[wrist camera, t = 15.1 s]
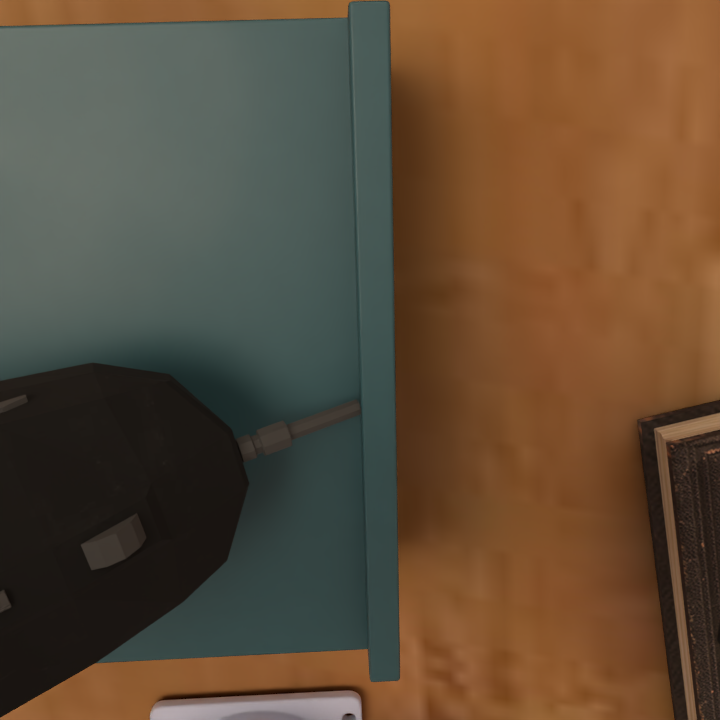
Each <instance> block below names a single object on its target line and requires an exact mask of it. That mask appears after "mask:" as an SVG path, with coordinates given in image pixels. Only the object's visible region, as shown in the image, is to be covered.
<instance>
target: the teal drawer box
mask: <svg viewBox="0 0 720 720" xmlns="http://www.w3.org/2000/svg"><path fill="white" fill-rule="evenodd" d="M92 362H94V363H100V364H107V365H113V366H120V367H126V368H133V369H140V370H146V371H153V372H159V373H166V374H170V375H171V376H172V377H174V378H175V379H176V380H177V381H178V382H179V383H180V384H182V385H183V386H184V387H185V388H186V389H187V390H188V391H189V392H191V393H192V394H193V395H194V396H195V397H196V398H197V399H199V400H200V401H201V402H202V403H203V404H204V405H205V406H206V407H208V408H209V409H210V410H211V411H212V412H213V413H214V414H216V415H217V416H218V417H219V418H220V419H221V420H222V421H224V422H225V423H226V424H227V425H228V426H229V427H230V428H231V429H232V432H233V435H234V438H235V439H237V438H239V437H242V436H245V435H248V434H249V435H250V436H253V435H256V430H258V429H261V428H263V427H266V426H269V425H272V424H274V423H277V422H280V421H284V422H285V424H286V425H287V424H290V423H293V422H295V421H298V420H301V419H304V418H306V417H309V416H312V415H314V414H317V413H320V412H323V411H325V410H328V409H331V408H334V407H336V406H339V405H342V404H344V403H347V402H350V401H353V400H355V399H356V400H357V401H358V402H359V405H360V407H361V414H360V415H358V416H355V417H352V418H350V419H347V420H344V421H342V422H339V423H336V424H334V425H331V426H328V427H326V428H323V429H320V430H318V431H315V432H312V433H310V434H307V435H304V436H302V437H299V438H296V439H294V440H292V446H290V447H287V448H284V449H282V450H279V451H277V452H274V453H271V454H269V455H266V456H265V455H264V454H263V452H262V453H260V454H257V458H255V459H252V460H249V461H247V462H244V463H243V465H244V468H245V471H246V474H247V477H248V481H249V486H248V490H247V493H246V497H245V500H244V504H243V507H242V511H241V514H240V518H239V521H238V525H237V528H236V532H235V535H234V539H233V542H232V546H231V549H230V553H229V556H228V560H227V561H226V562H225V563H224V564H223V565H222V566H221V567H220V568H219V569H218V570H217V571H216V572H215V573H213V574H212V575H211V576H210V577H209V578H208V579H207V580H206V581H205V582H204V583H203V584H202V585H201V586H200V587H199V588H198V589H196V590H195V591H194V592H193V593H192V594H191V595H190V596H189V597H188V598H187V599H186V600H185V601H184V602H183V603H181V604H180V605H178V606H177V607H176V608H174V609H173V610H171V611H170V612H168V613H167V614H165V615H164V616H163V617H161V618H160V619H158V620H157V621H155V622H154V623H153V624H151V625H150V626H148V627H147V628H145V629H144V630H142V631H141V632H140V633H138V634H137V635H135V636H134V637H132V638H131V639H130V640H128V641H127V642H125V643H124V644H122V645H121V646H120V647H118V648H117V649H115V650H114V651H112V652H111V653H109V654H108V655H107V656H105V657H104V658H102V659H101V660H99V661H98V662H96V663H107V662H126V661H145V660H165V659H184V658H204V657H223V656H242V655H262V654H281V653H300V652H320V651H339V650H358V649H368V659H369V674H370V680H371V682H382V681H398V680H399V679H400V640H399V574H398V508H397V442H396V375H395V309H394V243H393V177H392V110H391V44H390V4H389V2H388V1H352V2H350V3H349V6H348V18H311V19H270V20H230V21H190V22H149V23H109V24H68V25H28V26H0V381H1V380H6V379H11V378H17V377H22V376H27V375H32V374H37V373H42V372H47V371H52V370H57V369H62V368H67V367H72V366H77V365H82V364H87V363H92Z"/></svg>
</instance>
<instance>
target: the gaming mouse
mask: <svg viewBox="0 0 720 720" xmlns="http://www.w3.org/2000/svg"><path fill="white" fill-rule="evenodd" d="M360 414H361V407H360V405H359V402H358V401H357V400H356V399H355V400H353V401H350V402H347V403H344V404H342V405H339V406H336V407H334V408H331V409H328V410H325V411H323V412H320V413H317V414H314V415H312V416H309V417H306V418H304V419H301V420H298V421H295V422H293V423H290V424H287V425H286V424H285V422H284V421H280V422H277V423H274V424H272V425H269V426H266V427H263V428H261V429H258V430H256V435H253V436H250V435H249V434H248V435H245V436H242V437H239V438H237V439H235V438H234V435H233V432H232V429H231V428H230V427H229V426H228V425H227V424H226V423H225V422H224V421H222V420H221V419H220V418H219V417H218V416H217V415H216V414H214V413H213V412H212V411H211V410H210V409H209V408H208V407H206V406H205V405H204V404H203V403H202V402H201V401H200V400H199V399H197V398H196V397H195V396H194V395H193V394H192V393H191V392H189V391H188V390H187V389H186V388H185V387H184V386H183V385H182V384H180V383H179V382H178V381H177V380H176V379H175V378H174V377H172V376H171V375H170V374H166V373H159V372H153V371H146V370H140V369H133V368H126V367H120V366H113V365H107V364H100V363H94V362H92V363H87V364H82V365H77V366H72V367H67V368H62V369H57V370H52V371H47V372H42V373H37V374H32V375H27V376H22V377H17V378H11V379H6V380H1V381H0V717H2V716H4V715H5V714H7V713H9V712H11V711H12V710H14V709H16V708H18V707H19V706H21V705H23V704H25V703H26V702H28V701H30V700H32V699H33V698H35V697H37V696H39V695H40V694H42V693H44V692H46V691H47V690H49V689H51V688H53V687H54V686H56V685H58V684H59V683H61V682H63V681H65V680H66V679H68V678H70V677H72V676H73V675H75V674H77V673H79V672H80V671H82V670H84V669H86V668H87V667H89V666H91V665H93V664H94V663H96V662H98V661H99V660H101V659H102V658H104V657H105V656H107V655H108V654H109V653H111V652H112V651H114V650H115V649H117V648H118V647H120V646H121V645H122V644H124V643H125V642H127V641H128V640H130V639H131V638H132V637H134V636H135V635H137V634H138V633H140V632H141V631H142V630H144V629H145V628H147V627H148V626H150V625H151V624H153V623H154V622H155V621H157V620H158V619H160V618H161V617H163V616H164V615H165V614H167V613H168V612H170V611H171V610H173V609H174V608H176V607H177V606H178V605H180V604H181V603H183V602H184V601H185V600H186V599H187V598H188V597H189V596H190V595H191V594H192V593H193V592H194V591H195V590H196V589H198V588H199V587H200V586H201V585H202V584H203V583H204V582H205V581H206V580H207V579H208V578H209V577H210V576H211V575H212V574H213V573H215V572H216V571H217V570H218V569H219V568H220V567H221V566H222V565H223V564H224V563H225V562H226V561H227V560H228V556H229V553H230V549H231V546H232V542H233V539H234V535H235V532H236V528H237V525H238V521H239V518H240V514H241V511H242V507H243V504H244V500H245V497H246V493H247V490H248V486H249V481H248V477H247V474H246V471H245V468H244V465H243V463H244V462H247V461H249V460H252V459H255V458H257V454H260V453H262V452H263V454H264V455H265V456H266V455H269V454H271V453H274V452H277V451H279V450H282V449H284V448H287V447H290V446H292V440H294V439H296V438H299V437H302V436H304V435H307V434H310V433H312V432H315V431H318V430H320V429H323V428H326V427H328V426H331V425H334V424H336V423H339V422H342V421H344V420H347V419H350V418H352V417H355V416H358V415H360Z"/></svg>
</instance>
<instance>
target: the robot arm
mask: <svg viewBox="0 0 720 720" xmlns="http://www.w3.org/2000/svg"><path fill="white" fill-rule="evenodd" d="M717 641H718V643H719V645H720V622H719V629H718V636H717ZM347 713H351V714H353V715H350V716H348V715H345V714H347ZM150 720H362V705H361V698H360V695H359V694H358V693H356V692H354V691H350V690H344V691H325V692H307V693H288V694H269V695H250V696H232V697H213V698H194V699H175V700H162V701H158V702H157V703H155V704H154V706H153V707H152V710H151V713H150Z"/></svg>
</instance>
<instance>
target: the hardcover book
mask: <svg viewBox="0 0 720 720" xmlns="http://www.w3.org/2000/svg"><path fill="white" fill-rule="evenodd" d="M637 421H638V429H639V437H640V445H641V453H642V461H643V469H644V477H645V485H646V493H647V501H648V509H649V517H650V525H651V533H652V541H653V549H654V558H655V566H656V574H657V582H658V590H659V598H660V606H661V614H662V622H663V630H664V638H665V646H666V654H667V662H668V670H669V678H670V686H671V694H672V702H673V710H674V718H675V720H720V645H719V643H718V641H717V636H718V629H719V622H720V400H718V401H714V402H710V403H706V404H702V405H698V406H693V407H689V408H685V409H681V410H677V411H672V412H668V413H664V414H660V415H656V416H652V417H647V418H643V419H639V420H637Z"/></svg>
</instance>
